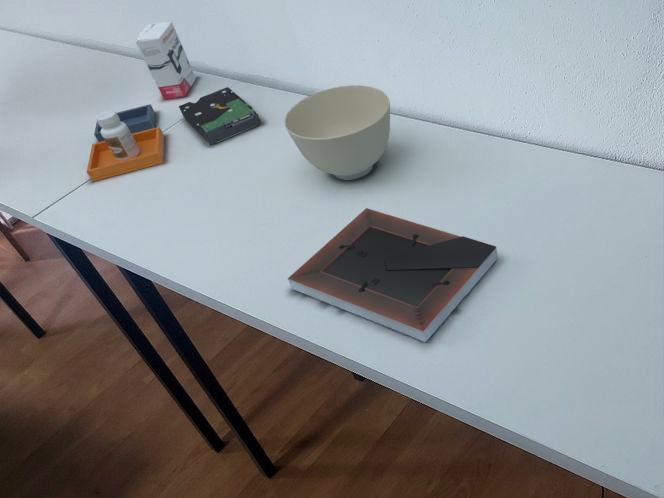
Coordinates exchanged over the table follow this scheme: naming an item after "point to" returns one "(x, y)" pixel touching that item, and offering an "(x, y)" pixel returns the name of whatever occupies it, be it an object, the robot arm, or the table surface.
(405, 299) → the picture frame
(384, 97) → the bowl
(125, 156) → the pill bottle
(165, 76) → the ink box
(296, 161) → the table surface
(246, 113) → the disk drive
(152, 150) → the orange tray
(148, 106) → the slate tray
